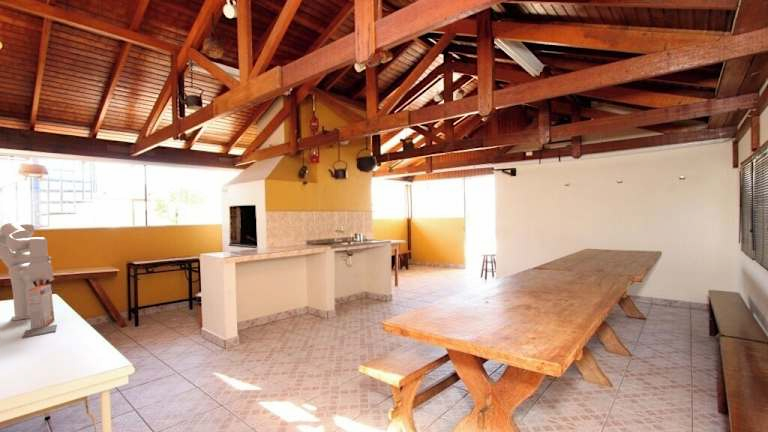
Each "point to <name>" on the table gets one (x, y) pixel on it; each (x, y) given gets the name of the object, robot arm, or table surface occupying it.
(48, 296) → the cracker box
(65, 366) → the table surface
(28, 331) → the mat
